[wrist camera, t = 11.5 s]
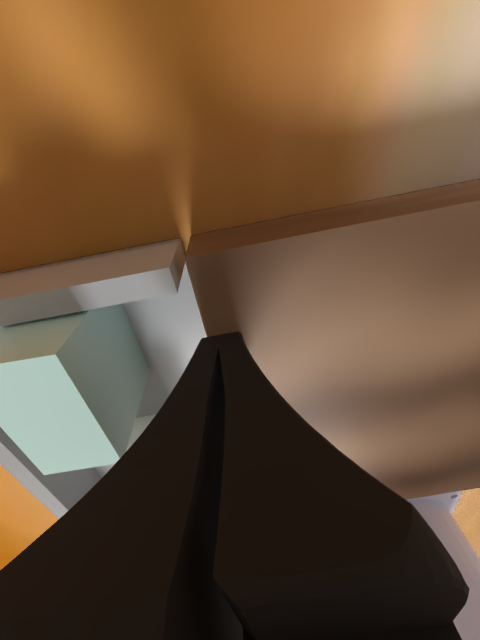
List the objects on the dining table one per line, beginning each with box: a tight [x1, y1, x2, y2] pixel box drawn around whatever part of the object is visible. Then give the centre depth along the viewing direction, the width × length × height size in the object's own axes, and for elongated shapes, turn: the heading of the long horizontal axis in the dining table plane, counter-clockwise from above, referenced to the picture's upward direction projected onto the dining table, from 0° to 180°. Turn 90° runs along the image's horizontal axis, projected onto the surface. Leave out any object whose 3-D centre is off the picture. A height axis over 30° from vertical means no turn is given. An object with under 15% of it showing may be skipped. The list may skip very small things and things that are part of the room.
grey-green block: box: [0, 304, 150, 475], centre depth 10 cm, size 4×4×3 cm
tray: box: [0, 238, 208, 519], centre depth 14 cm, size 17×9×3 cm, turn 10°
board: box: [185, 179, 480, 500], centre depth 14 cm, size 17×16×2 cm
